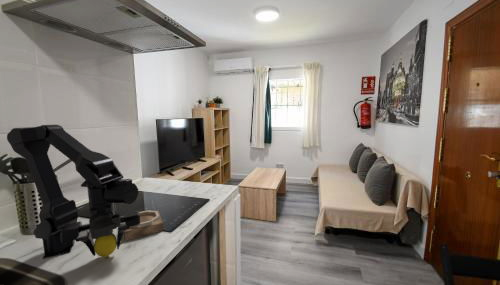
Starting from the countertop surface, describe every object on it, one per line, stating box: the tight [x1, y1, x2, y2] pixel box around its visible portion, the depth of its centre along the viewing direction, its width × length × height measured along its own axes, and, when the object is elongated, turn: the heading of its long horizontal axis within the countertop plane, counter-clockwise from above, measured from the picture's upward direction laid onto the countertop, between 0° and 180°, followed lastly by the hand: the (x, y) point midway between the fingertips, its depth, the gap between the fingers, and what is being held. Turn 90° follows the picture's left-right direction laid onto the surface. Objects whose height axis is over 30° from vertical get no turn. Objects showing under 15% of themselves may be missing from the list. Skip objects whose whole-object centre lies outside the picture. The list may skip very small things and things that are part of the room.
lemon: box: [94, 233, 117, 258], centre depth 64 cm, size 6×6×8 cm
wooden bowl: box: [124, 210, 164, 241], centre depth 81 cm, size 12×12×4 cm
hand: (106, 251), depth 64 cm, fingers closed on lemon, 5 cm apart
